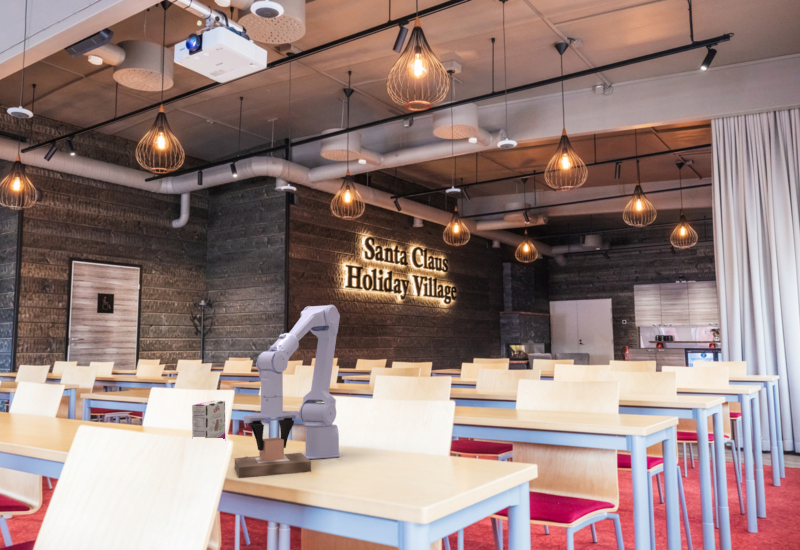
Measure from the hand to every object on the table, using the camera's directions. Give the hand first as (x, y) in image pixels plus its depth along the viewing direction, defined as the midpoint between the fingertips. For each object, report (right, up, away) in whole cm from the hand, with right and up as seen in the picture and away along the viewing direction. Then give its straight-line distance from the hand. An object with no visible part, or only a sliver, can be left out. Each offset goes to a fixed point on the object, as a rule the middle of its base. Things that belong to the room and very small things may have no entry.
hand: (271, 448), depth 164 cm
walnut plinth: (0, -5, -1) cm, 5 cm away
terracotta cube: (0, -3, 0) cm, 3 cm away
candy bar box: (-22, -8, +16) cm, 28 cm away
